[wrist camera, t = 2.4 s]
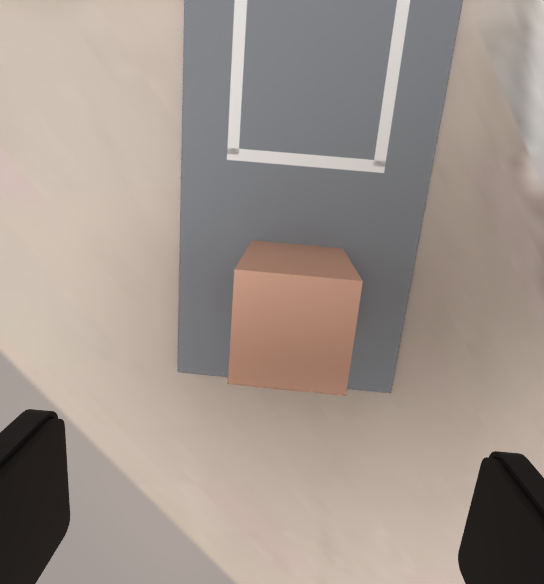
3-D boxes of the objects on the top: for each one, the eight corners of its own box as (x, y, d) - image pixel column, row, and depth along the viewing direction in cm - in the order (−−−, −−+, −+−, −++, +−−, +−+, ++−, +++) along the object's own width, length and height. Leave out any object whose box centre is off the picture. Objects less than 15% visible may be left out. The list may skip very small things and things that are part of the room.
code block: (342, 248, 23) (362, 281, 16) (331, 332, 24) (345, 395, 18) (251, 240, 23) (234, 269, 16) (246, 324, 24) (227, 383, 18)
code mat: (471, -61, 19) (474, -65, 19) (390, 390, 26) (391, 393, 25) (187, -81, 19) (185, -85, 19) (178, 369, 26) (177, 372, 26)
